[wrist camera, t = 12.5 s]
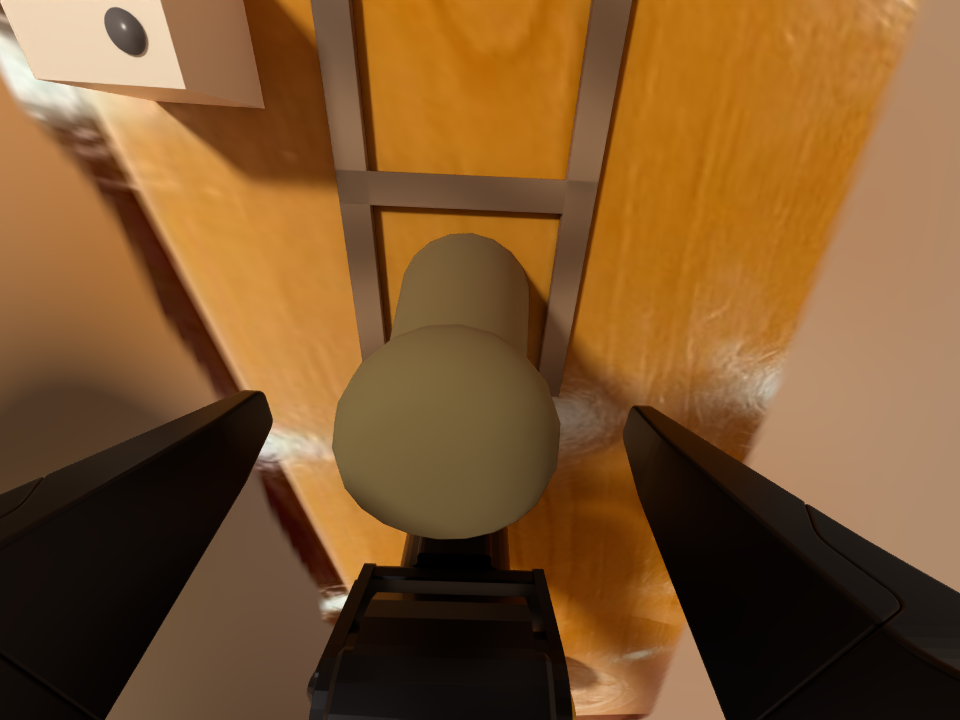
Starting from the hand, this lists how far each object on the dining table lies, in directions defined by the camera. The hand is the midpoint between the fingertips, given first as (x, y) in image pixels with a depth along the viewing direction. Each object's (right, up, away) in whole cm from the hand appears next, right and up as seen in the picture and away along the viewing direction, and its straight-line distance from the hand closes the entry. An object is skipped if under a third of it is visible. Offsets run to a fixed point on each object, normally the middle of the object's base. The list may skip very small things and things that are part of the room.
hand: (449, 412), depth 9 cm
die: (-9, +12, +3) cm, 16 cm away
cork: (0, +4, +8) cm, 9 cm away
